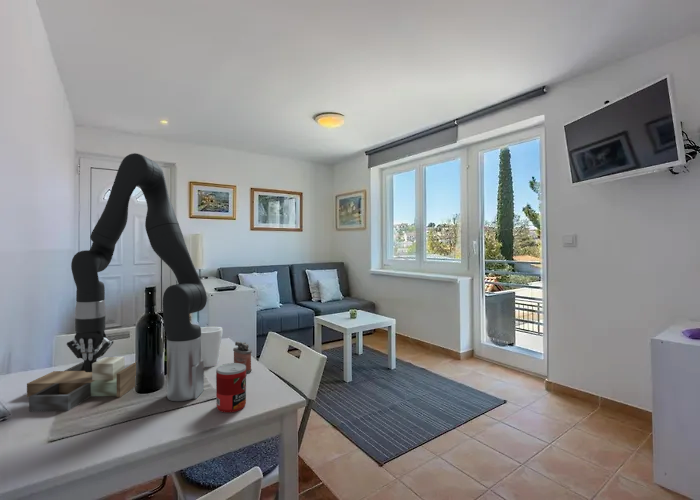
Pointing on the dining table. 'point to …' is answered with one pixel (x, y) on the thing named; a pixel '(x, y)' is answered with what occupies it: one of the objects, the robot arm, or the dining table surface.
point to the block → (107, 368)
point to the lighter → (243, 355)
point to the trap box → (75, 388)
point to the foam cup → (210, 345)
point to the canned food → (231, 387)
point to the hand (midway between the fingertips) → (90, 371)
